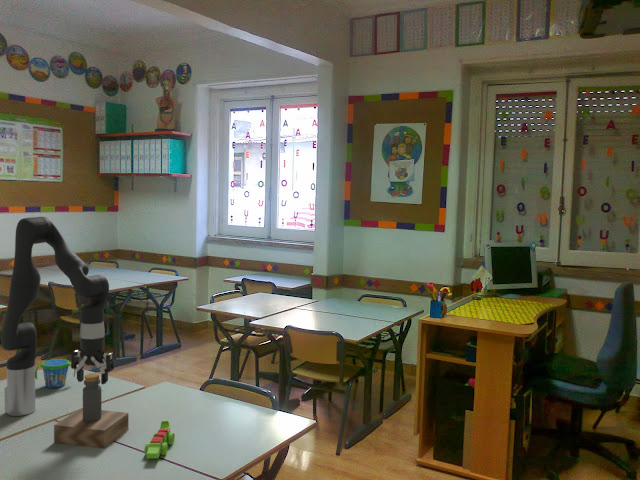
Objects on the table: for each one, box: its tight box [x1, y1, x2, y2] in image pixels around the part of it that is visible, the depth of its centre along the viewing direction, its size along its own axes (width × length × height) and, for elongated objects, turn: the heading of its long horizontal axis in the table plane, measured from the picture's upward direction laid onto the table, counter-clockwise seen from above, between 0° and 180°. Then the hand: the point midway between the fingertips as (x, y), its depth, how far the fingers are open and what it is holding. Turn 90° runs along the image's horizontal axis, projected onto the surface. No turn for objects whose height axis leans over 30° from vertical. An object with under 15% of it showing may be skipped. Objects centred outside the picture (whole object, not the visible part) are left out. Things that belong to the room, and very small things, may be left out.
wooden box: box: [53, 407, 129, 449], centre depth 186 cm, size 18×15×6 cm
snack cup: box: [35, 358, 77, 389], centre depth 233 cm, size 16×10×10 cm
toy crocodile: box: [144, 420, 176, 459], centre depth 178 cm, size 20×7×6 cm, turn 179°
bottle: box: [82, 372, 102, 422], centre depth 185 cm, size 6×6×15 cm
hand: (92, 382), depth 185 cm, fingers open, 8 cm apart
